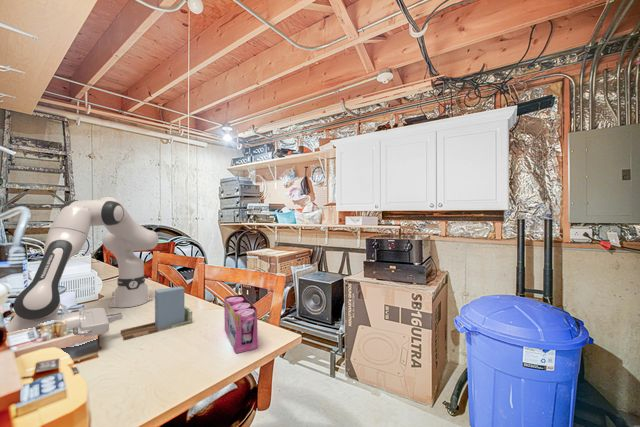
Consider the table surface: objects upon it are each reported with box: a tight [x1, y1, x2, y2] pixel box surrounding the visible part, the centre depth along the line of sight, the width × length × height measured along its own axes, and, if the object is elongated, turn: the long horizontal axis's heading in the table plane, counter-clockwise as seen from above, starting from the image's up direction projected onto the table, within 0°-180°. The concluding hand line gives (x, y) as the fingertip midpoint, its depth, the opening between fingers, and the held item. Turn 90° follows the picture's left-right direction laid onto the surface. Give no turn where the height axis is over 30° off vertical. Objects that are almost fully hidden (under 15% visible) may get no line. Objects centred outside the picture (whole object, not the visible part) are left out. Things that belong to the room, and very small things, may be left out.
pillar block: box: [154, 285, 185, 330], centre depth 115 cm, size 5×10×15 cm, turn 132°
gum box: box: [223, 294, 259, 354], centre depth 104 cm, size 24×8×14 cm, turn 29°
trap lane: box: [120, 305, 193, 341], centre depth 112 cm, size 9×24×6 cm, turn 132°
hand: (121, 315), depth 105 cm, fingers closed
